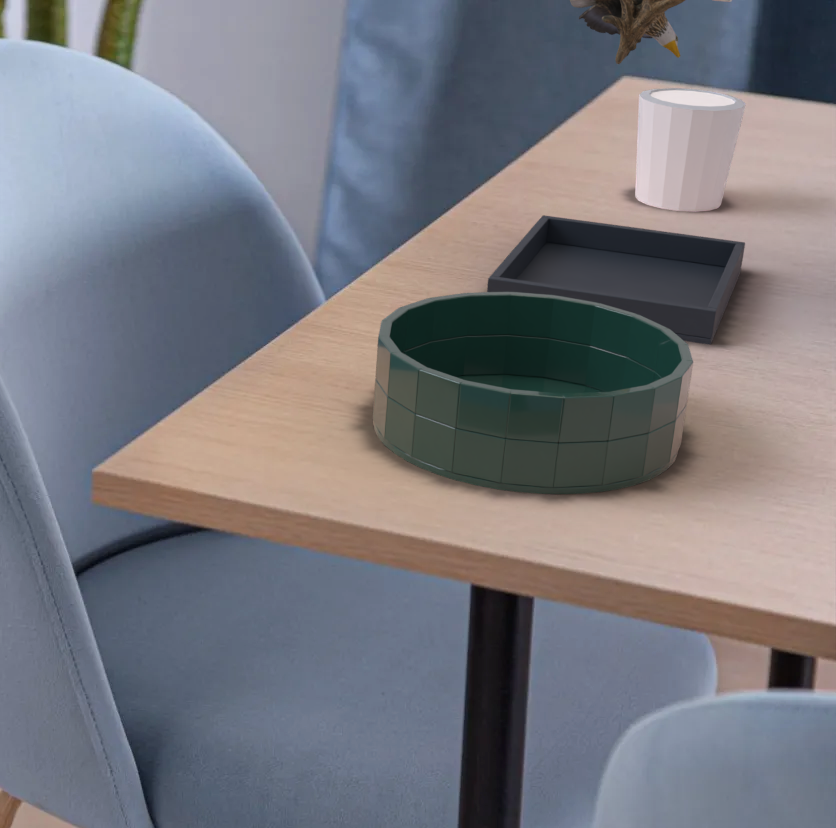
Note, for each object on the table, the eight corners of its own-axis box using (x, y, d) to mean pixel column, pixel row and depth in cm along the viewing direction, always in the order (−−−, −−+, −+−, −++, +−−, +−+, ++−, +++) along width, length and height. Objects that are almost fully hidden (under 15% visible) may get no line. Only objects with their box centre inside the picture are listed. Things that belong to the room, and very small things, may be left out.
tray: (539, 247, 106) (542, 214, 106) (740, 275, 103) (745, 242, 102) (484, 314, 94) (488, 278, 94) (710, 348, 91) (716, 311, 90)
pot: (433, 362, 87) (441, 274, 85) (706, 415, 82) (721, 323, 81) (325, 456, 76) (331, 357, 74) (634, 524, 71) (649, 420, 69)
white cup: (731, 220, 114) (748, 112, 111) (624, 210, 115) (638, 102, 112) (728, 195, 120) (744, 91, 117) (626, 185, 121) (639, 82, 118)
